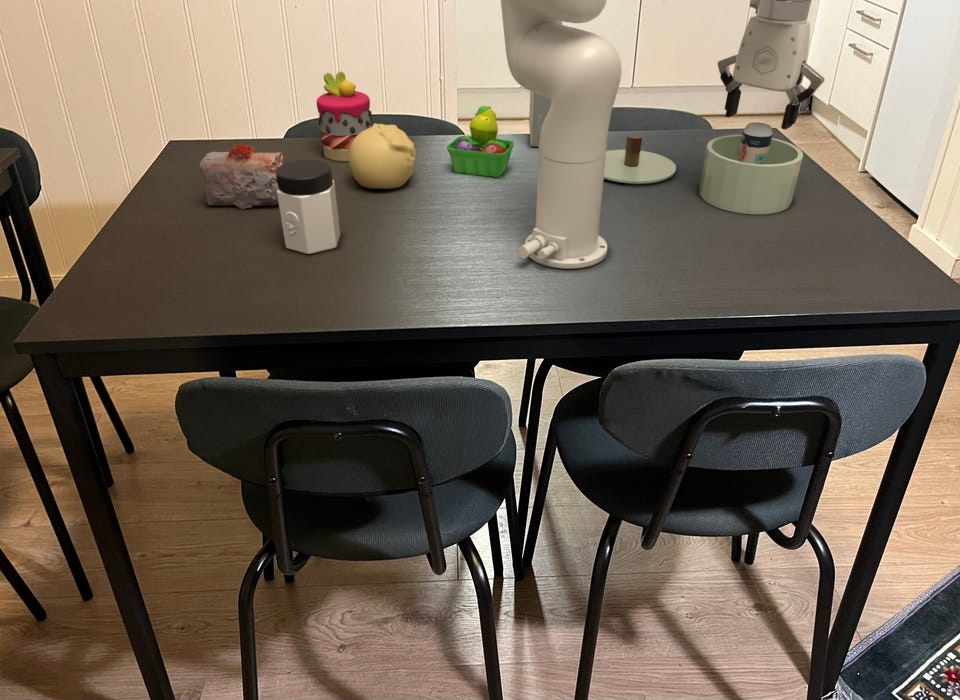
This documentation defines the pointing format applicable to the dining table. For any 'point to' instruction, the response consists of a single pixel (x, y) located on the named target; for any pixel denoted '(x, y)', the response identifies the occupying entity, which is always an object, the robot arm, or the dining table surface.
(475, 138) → the fruit basket
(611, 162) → the tub lid
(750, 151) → the beer can
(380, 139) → the sculpture
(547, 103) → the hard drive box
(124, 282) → the dining table surface
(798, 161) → the tub
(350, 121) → the cake
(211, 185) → the food item
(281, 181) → the jar
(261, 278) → the dining table surface
